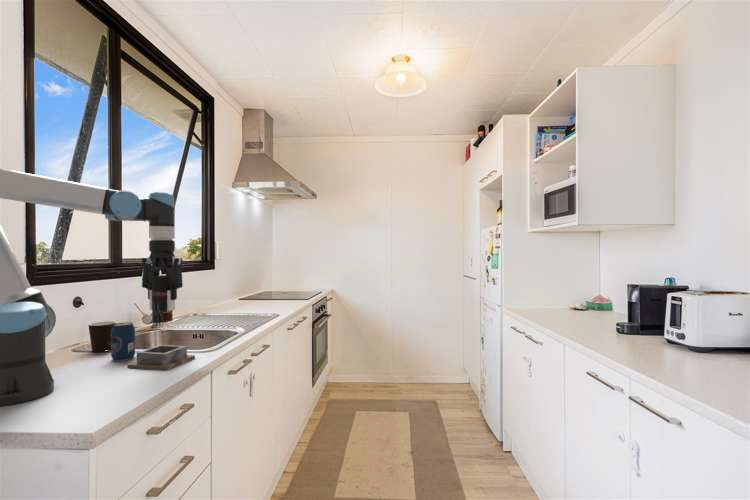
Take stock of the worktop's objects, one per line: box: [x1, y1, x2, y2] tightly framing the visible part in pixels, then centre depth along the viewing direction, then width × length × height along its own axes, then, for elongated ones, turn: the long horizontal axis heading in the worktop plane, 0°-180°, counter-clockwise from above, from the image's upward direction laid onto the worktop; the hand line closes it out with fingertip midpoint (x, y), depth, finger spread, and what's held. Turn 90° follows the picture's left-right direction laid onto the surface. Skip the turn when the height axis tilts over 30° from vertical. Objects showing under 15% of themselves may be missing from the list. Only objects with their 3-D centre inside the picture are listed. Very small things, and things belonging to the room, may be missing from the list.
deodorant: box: [151, 274, 174, 324], centre depth 132 cm, size 6×6×15 cm
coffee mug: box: [87, 320, 117, 353], centre depth 150 cm, size 12×9×10 cm
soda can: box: [110, 322, 136, 362], centre depth 137 cm, size 7×7×12 cm
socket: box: [127, 344, 196, 371], centre depth 132 cm, size 14×14×4 cm
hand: (162, 309), depth 132 cm, fingers closed on deodorant, 6 cm apart
